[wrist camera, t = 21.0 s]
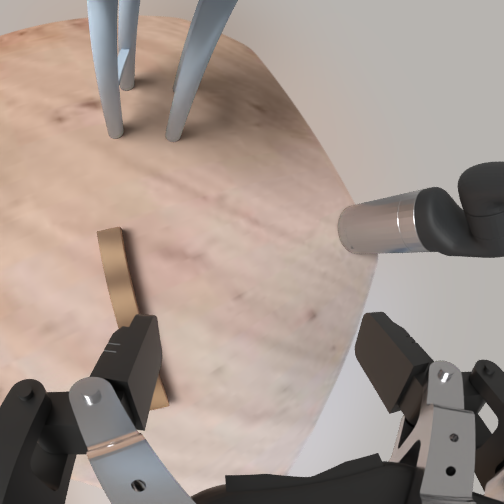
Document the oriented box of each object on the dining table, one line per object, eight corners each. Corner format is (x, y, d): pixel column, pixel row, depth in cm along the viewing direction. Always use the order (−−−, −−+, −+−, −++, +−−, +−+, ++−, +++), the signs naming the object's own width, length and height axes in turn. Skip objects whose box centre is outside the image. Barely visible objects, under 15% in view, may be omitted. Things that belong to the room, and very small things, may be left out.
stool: (108, 65, 34) (116, -96, 4) (208, 72, 40) (294, -75, 10) (83, 158, 33) (9, -16, 3) (199, 164, 40) (321, 0, 10)
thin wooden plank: (100, 233, 35) (96, 231, 32) (121, 229, 36) (119, 226, 33) (148, 400, 36) (149, 410, 33) (167, 396, 37) (169, 405, 34)
